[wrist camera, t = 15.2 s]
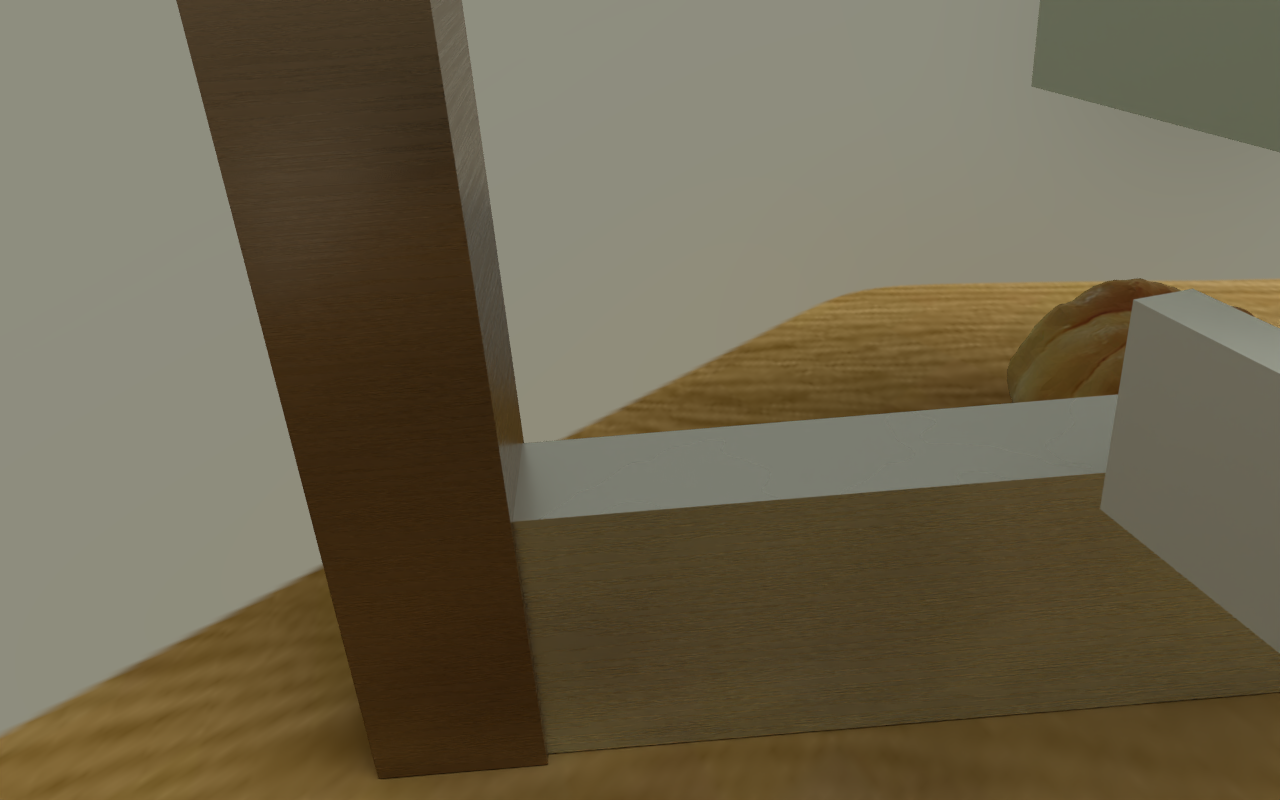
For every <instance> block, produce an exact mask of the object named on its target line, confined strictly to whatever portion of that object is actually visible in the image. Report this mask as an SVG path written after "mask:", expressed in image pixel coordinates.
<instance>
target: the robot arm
mask: <svg viewBox="0 0 1280 800" xmlns="http://www.w3.org/2000/svg"><path fill="white" fill-rule="evenodd" d="M1100 509H1101V510H1102V511H1103V512H1104V513H1106V514H1107V515H1108V516H1109V517H1111V518H1112V519H1113V520H1114V521H1116V522H1117V523H1118V524H1119V525H1121V526H1122V527H1123V528H1124V529H1125V530H1127V531H1128V532H1129V533H1130V534H1132V535H1133V536H1134V537H1135V538H1137V539H1138V540H1139V541H1140V542H1142V543H1143V544H1144V545H1145V546H1147V547H1148V548H1149V549H1150V550H1152V551H1153V552H1154V553H1155V554H1157V555H1158V556H1159V557H1160V558H1162V559H1163V560H1164V561H1165V562H1167V563H1168V564H1169V565H1170V566H1172V567H1173V568H1174V569H1175V570H1176V571H1178V572H1179V573H1180V574H1181V575H1183V576H1184V577H1185V578H1186V579H1188V580H1189V581H1190V582H1191V583H1193V584H1194V585H1195V586H1196V587H1198V588H1199V589H1200V590H1201V591H1203V592H1204V593H1205V594H1206V595H1208V596H1209V597H1210V598H1211V599H1213V600H1214V601H1215V602H1216V603H1218V604H1219V605H1220V606H1221V607H1223V608H1224V609H1225V610H1226V611H1227V612H1229V613H1230V614H1231V615H1232V616H1234V617H1235V618H1236V619H1237V620H1239V621H1240V622H1241V623H1242V624H1244V625H1245V626H1246V627H1247V628H1249V629H1250V630H1251V631H1252V632H1254V633H1255V634H1256V635H1257V636H1259V637H1260V638H1261V639H1262V640H1264V641H1265V642H1266V643H1267V644H1269V645H1270V646H1271V647H1272V648H1274V649H1275V650H1276V651H1277V652H1278V653H1280V329H1279V328H1277V327H1275V326H1273V325H1271V324H1269V323H1266V322H1264V321H1262V320H1260V319H1258V318H1255V317H1253V316H1251V315H1249V314H1247V313H1245V312H1242V311H1240V310H1238V309H1236V308H1234V307H1231V306H1229V305H1227V304H1225V303H1223V302H1221V301H1218V300H1216V299H1214V298H1212V297H1210V296H1207V295H1205V294H1203V293H1201V292H1199V291H1197V290H1194V289H1189V290H1184V291H1178V292H1173V293H1167V294H1162V295H1156V296H1150V297H1145V298H1139V299H1134V300H1133V305H1132V311H1131V318H1130V324H1129V330H1128V336H1127V343H1126V349H1125V355H1124V361H1123V368H1122V374H1121V380H1120V386H1119V393H1118V399H1117V405H1116V411H1115V418H1114V424H1113V430H1112V436H1111V442H1110V449H1109V455H1108V461H1107V467H1106V474H1105V480H1104V486H1103V492H1102V499H1101V505H1100Z"/></svg>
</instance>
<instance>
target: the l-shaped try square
mask: <svg viewBox="0 0 1280 800" xmlns="http://www.w3.org/2000/svg"><path fill="white" fill-rule="evenodd" d="M176 1H177V4H178V8H179V12H180V16H181V20H182V24H183V27H184V31H185V35H186V39H187V43H188V47H189V50H190V54H191V58H192V62H193V66H194V70H195V74H196V77H197V81H198V85H199V89H200V93H201V97H202V101H203V104H204V108H205V112H206V116H207V120H208V124H209V128H210V131H211V135H212V139H213V143H214V146H215V151H216V154H217V158H218V162H219V166H220V170H221V173H222V178H223V181H224V185H225V189H226V193H227V197H228V201H229V204H230V208H231V212H232V216H233V220H234V224H235V228H236V231H237V235H238V239H239V243H240V247H241V250H242V254H243V258H244V262H245V266H246V270H247V274H248V278H249V282H250V285H251V289H252V293H253V297H254V301H255V304H256V309H257V312H258V316H259V320H260V324H261V327H262V331H263V335H264V339H265V343H266V347H267V350H268V355H269V358H270V362H271V366H272V370H273V374H274V378H275V382H276V385H277V389H278V393H279V397H280V401H281V405H282V408H283V412H284V416H285V420H286V424H287V428H288V432H289V435H290V439H291V443H292V447H293V451H294V454H295V459H296V462H297V466H298V470H299V474H300V478H301V482H302V486H303V489H304V493H305V497H306V501H307V505H308V509H309V513H310V516H311V520H312V524H313V528H314V532H315V535H316V540H317V543H318V547H319V551H320V555H321V559H322V563H323V566H324V570H325V574H326V578H327V582H328V586H329V590H330V593H331V597H332V601H333V605H334V609H335V613H336V617H337V620H338V624H339V628H340V632H341V636H342V640H343V643H344V647H345V651H346V655H347V659H348V663H349V667H350V670H351V674H352V678H353V682H354V686H355V690H356V694H357V697H358V701H359V705H360V709H361V713H362V717H363V720H364V724H365V728H366V732H367V736H368V740H369V744H370V747H371V751H372V755H373V759H374V763H375V767H376V771H377V774H378V778H379V779H380V778H392V777H404V776H415V775H427V774H439V773H451V772H463V771H475V770H487V769H499V768H510V767H522V766H534V765H546V764H547V763H548V754H550V753H562V752H573V751H585V750H597V749H609V748H621V747H633V746H645V745H657V744H668V743H680V742H692V741H704V740H716V739H728V738H740V737H752V736H763V735H775V734H787V733H799V732H811V731H823V730H835V729H847V728H858V727H870V726H882V725H894V724H906V723H918V722H930V721H942V720H954V719H965V718H977V717H989V716H1001V715H1013V714H1025V713H1037V712H1049V711H1060V710H1072V709H1084V708H1096V707H1108V706H1120V705H1132V704H1144V703H1155V702H1167V701H1179V700H1191V699H1203V698H1215V697H1227V696H1239V695H1250V694H1262V693H1274V692H1280V653H1278V652H1277V651H1276V650H1275V649H1274V648H1272V647H1271V646H1270V645H1269V644H1267V643H1266V642H1265V641H1264V640H1262V639H1261V638H1260V637H1259V636H1257V635H1256V634H1255V633H1254V632H1252V631H1251V630H1250V629H1249V628H1247V627H1246V626H1245V625H1244V624H1242V623H1241V622H1240V621H1239V620H1237V619H1236V618H1235V617H1234V616H1232V615H1231V614H1230V613H1229V612H1227V611H1226V610H1225V609H1224V608H1223V607H1221V606H1220V605H1219V604H1218V603H1216V602H1215V601H1214V600H1213V599H1211V598H1210V597H1209V596H1208V595H1206V594H1205V593H1204V592H1203V591H1201V590H1200V589H1199V588H1198V587H1196V586H1195V585H1194V584H1193V583H1191V582H1190V581H1189V580H1188V579H1186V578H1185V577H1184V576H1183V575H1181V574H1180V573H1179V572H1178V571H1176V570H1175V569H1174V568H1173V567H1172V566H1170V565H1169V564H1168V563H1167V562H1165V561H1164V560H1163V559H1162V558H1160V557H1159V556H1158V555H1157V554H1155V553H1154V552H1153V551H1152V550H1150V549H1149V548H1148V547H1147V546H1145V545H1144V544H1143V543H1142V542H1140V541H1139V540H1138V539H1137V538H1135V537H1134V536H1133V535H1132V534H1130V533H1129V532H1128V531H1127V530H1125V529H1124V528H1123V527H1122V526H1121V525H1119V524H1118V523H1117V522H1116V521H1114V520H1113V519H1112V518H1111V517H1109V516H1108V515H1107V514H1106V513H1104V512H1103V511H1102V510H1101V509H1100V505H1101V499H1102V492H1103V486H1104V480H1105V474H1106V467H1107V461H1108V455H1109V449H1110V442H1111V436H1112V430H1113V424H1114V418H1115V411H1116V405H1117V399H1118V394H1117V395H1105V396H1092V397H1080V398H1068V399H1056V400H1044V401H1032V402H1019V403H1007V404H995V405H983V406H971V407H959V408H947V409H934V410H922V411H910V412H898V413H886V414H874V415H862V416H849V417H837V418H825V419H813V420H801V421H789V422H777V423H764V424H752V425H740V426H728V427H716V428H704V429H692V430H679V431H667V432H655V433H643V434H631V435H619V436H607V437H594V438H582V439H570V440H558V441H546V442H535V443H524V441H523V434H522V427H521V419H520V413H519V405H518V398H517V391H516V384H515V376H514V369H513V362H512V355H511V348H510V341H509V334H508V327H507V320H506V312H505V305H504V298H503V292H502V284H501V277H500V270H499V263H498V256H497V249H496V241H495V234H494V228H493V220H492V213H491V206H490V198H489V191H488V184H487V177H486V170H485V163H484V156H483V148H482V141H481V134H480V127H479V120H478V114H477V106H476V99H475V92H474V85H473V77H472V70H471V63H470V56H469V49H468V42H467V35H466V27H465V20H464V14H463V6H462V0H176Z"/></svg>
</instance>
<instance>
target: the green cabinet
mask: <svg viewBox="0 0 1280 800" xmlns="http://www.w3.org/2000/svg"><path fill="white" fill-rule="evenodd" d="M1032 87H1036V88H1040V89H1043V90H1047V91H1051V92H1055V93H1058V94H1062V95H1066V96H1070V97H1074V98H1078V99H1081V100H1085V101H1089V102H1092V103H1097V104H1100V105H1104V106H1108V107H1111V108H1115V109H1119V110H1123V111H1127V112H1130V113H1134V114H1138V115H1142V116H1145V117H1149V118H1153V119H1157V120H1160V121H1164V122H1168V123H1172V124H1175V125H1179V126H1183V127H1187V128H1191V129H1194V130H1198V131H1202V132H1205V133H1209V134H1213V135H1217V136H1221V137H1225V138H1228V139H1232V140H1236V141H1239V142H1243V143H1247V144H1251V145H1254V146H1259V147H1262V148H1266V149H1270V150H1273V151H1277V152H1280V0H1040V8H1039V17H1038V28H1037V37H1036V47H1035V57H1034V67H1033V76H1032Z"/></svg>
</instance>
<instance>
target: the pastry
mask: <svg viewBox="0 0 1280 800" xmlns="http://www.w3.org/2000/svg"><path fill="white" fill-rule="evenodd" d="M1178 291H1180V290H1178V289H1177V288H1174V287H1170V286H1167V285H1164V284H1162V283H1157V282H1149V281H1146V280H1144V279H1141V278H1140V279H1131V280H1113V281H1107V282H1104V283H1102V284H1099V285H1096V286H1093V287H1092V288H1090V289H1089V290H1087V291H1085V292H1084V293H1082V294H1081V295H1080V296H1078V297H1077V298H1076V299H1075V300H1073V301H1071V302H1069V303H1066V304H1060V305H1058V306H1056V307H1055V308H1054V309H1053V310H1051V311H1050V312H1049V313H1048V314H1047V315H1046V316H1045V317H1044V318H1043V319H1042V320H1041V321H1040V322H1039V323H1038V324H1037V325H1036V326H1034V328H1033V330H1032V332H1031V333H1030V335H1029V336H1028V337H1027V339H1026V340H1025V341H1024V342H1023V343H1022V344H1021V346H1020V347H1019V349H1018V351H1017V352H1016V354H1015V355H1014V356H1013V357H1012V359H1011V360H1010V363H1009V366H1008V370H1007V383H1008V388H1009V393H1010V396H1011V399H1012V402H1013V403H1019V402H1032V401H1044V400H1056V399H1068V398H1080V397H1092V396H1105V395H1117V394H1118V393H1119V386H1120V380H1121V374H1122V368H1123V361H1124V355H1125V349H1126V343H1127V336H1128V330H1129V324H1130V318H1131V311H1132V305H1133V300H1134V299H1139V298H1145V297H1150V296H1156V295H1162V294H1167V293H1173V292H1178ZM1231 307H1234V306H1231ZM1234 308H1236V309H1238V310H1240V311H1242V312H1245V313H1247V314H1249V315H1251V316H1253V315H1252V314H1251V313H1250V312H1248V311H1246V310H1244V309H1242V308H1238V307H1234ZM1253 317H1254V316H1253Z"/></svg>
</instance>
